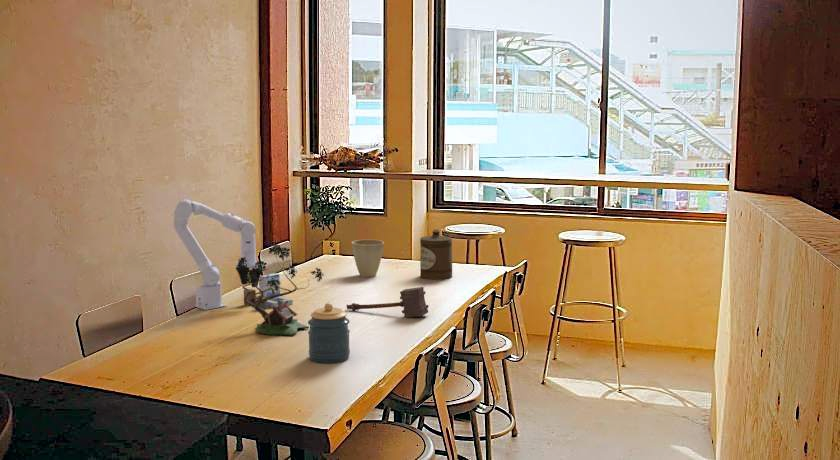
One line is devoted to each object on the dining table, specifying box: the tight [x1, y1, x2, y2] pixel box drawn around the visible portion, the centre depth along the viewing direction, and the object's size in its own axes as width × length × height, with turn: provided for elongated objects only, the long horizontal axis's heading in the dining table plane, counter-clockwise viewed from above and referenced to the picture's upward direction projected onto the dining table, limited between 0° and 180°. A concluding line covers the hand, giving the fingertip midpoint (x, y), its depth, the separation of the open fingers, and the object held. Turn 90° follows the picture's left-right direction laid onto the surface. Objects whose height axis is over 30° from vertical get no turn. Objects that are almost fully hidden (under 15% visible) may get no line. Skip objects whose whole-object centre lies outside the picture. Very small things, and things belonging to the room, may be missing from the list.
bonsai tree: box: [235, 243, 325, 337], centre depth 296 cm, size 35×24×32 cm
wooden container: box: [419, 229, 453, 281], centre depth 395 cm, size 15×15×22 cm
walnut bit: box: [243, 288, 257, 307], centre depth 341 cm, size 3×3×6 cm
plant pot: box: [351, 239, 385, 278], centre depth 397 cm, size 15×15×16 cm
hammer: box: [346, 286, 430, 319], centre depth 326 cm, size 7×33×10 cm, turn 69°
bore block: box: [267, 296, 294, 309], centre depth 341 cm, size 9×9×2 cm
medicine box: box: [258, 272, 281, 298], centre depth 358 cm, size 8×4×9 cm, turn 143°
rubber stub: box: [258, 297, 268, 311], centre depth 334 cm, size 3×3×4 cm
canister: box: [307, 302, 351, 364], centre depth 268 cm, size 13×13×18 cm
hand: (249, 285), depth 340 cm, fingers open, 7 cm apart
